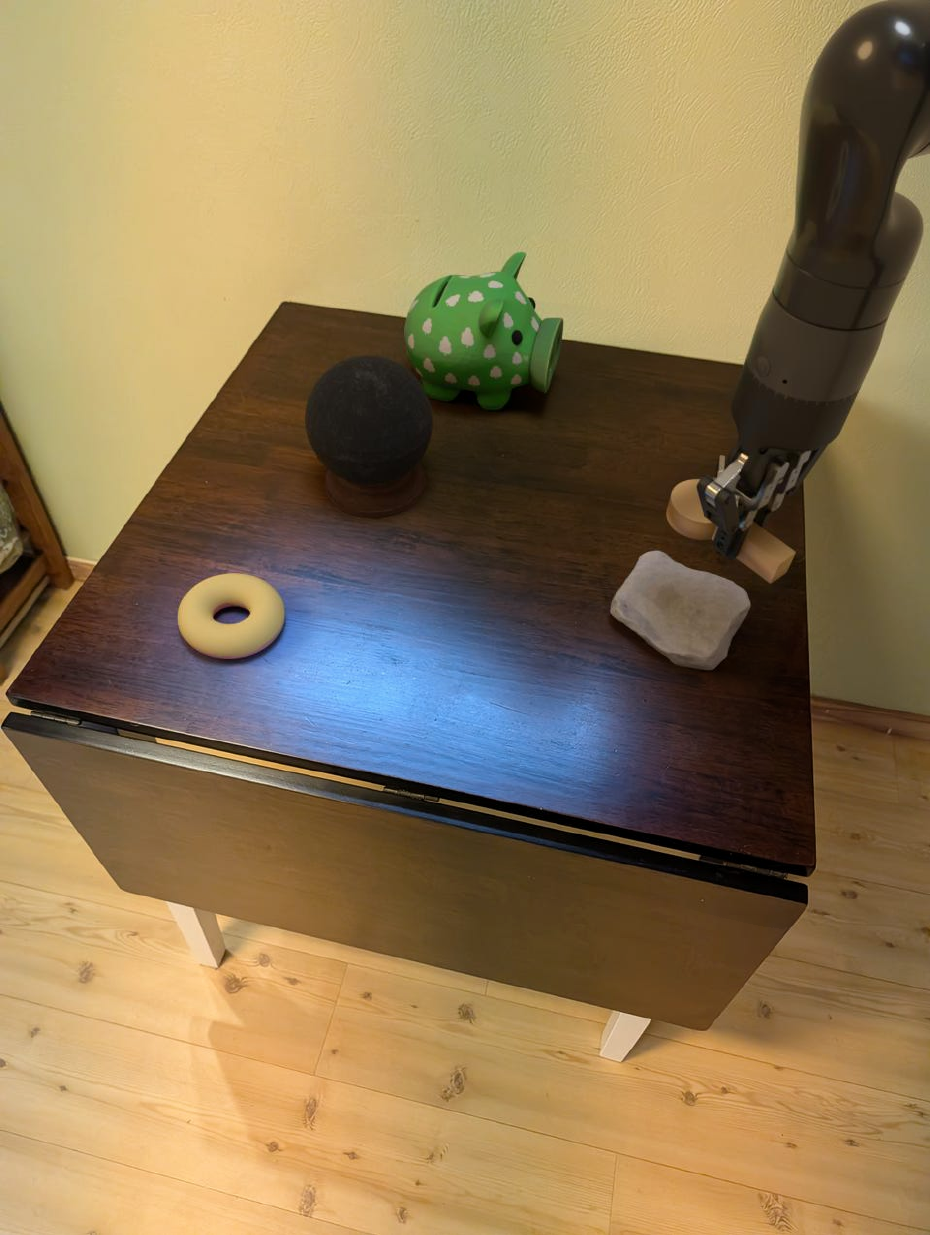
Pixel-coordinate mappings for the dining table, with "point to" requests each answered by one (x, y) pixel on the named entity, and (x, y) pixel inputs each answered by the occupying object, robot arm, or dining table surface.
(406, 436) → the black ball on stand
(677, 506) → the wooden round paddle
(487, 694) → the dining table surface
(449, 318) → the piggy bank
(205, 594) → the donut
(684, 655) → the stone block
